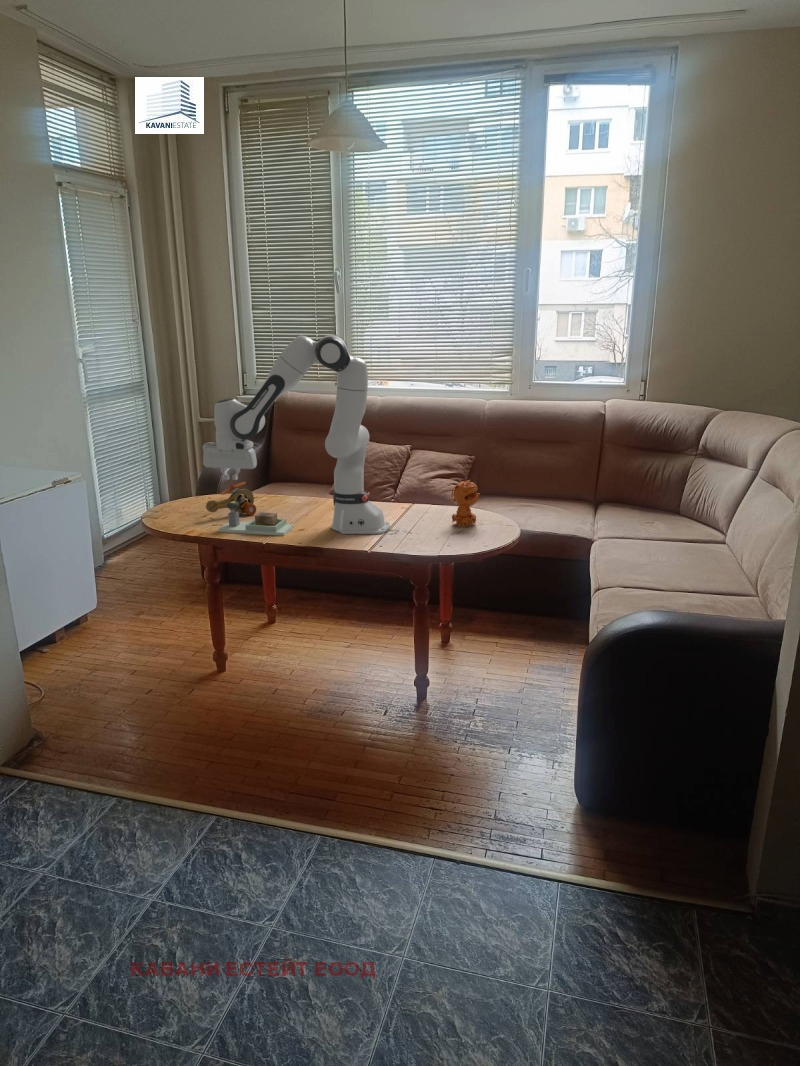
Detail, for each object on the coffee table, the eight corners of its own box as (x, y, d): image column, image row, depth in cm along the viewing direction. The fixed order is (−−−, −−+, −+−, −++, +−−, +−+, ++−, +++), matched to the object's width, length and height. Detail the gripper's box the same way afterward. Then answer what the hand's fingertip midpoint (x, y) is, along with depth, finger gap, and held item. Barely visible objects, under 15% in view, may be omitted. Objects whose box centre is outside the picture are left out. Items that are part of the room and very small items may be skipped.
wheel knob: (241, 514, 274) (240, 500, 272) (236, 517, 270) (235, 503, 268) (230, 514, 275) (229, 500, 273) (225, 517, 271) (224, 503, 269)
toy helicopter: (259, 514, 294) (257, 481, 290) (213, 523, 280) (210, 489, 276) (248, 510, 299) (246, 478, 295) (203, 519, 286) (200, 486, 282)
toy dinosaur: (479, 529, 272) (481, 482, 267) (450, 528, 273) (451, 482, 268) (478, 521, 283) (479, 476, 278) (450, 520, 284) (451, 476, 278)
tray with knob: (294, 527, 275) (293, 511, 273) (284, 535, 264) (283, 519, 263) (230, 523, 280) (229, 508, 278) (218, 531, 269) (217, 516, 268)
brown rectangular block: (277, 525, 273) (277, 513, 271) (273, 529, 268) (272, 516, 267) (260, 524, 274) (259, 512, 273) (255, 528, 270) (254, 515, 268)
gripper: (198, 443, 263) (201, 480, 267) (250, 445, 259) (252, 482, 263) (206, 440, 269) (209, 476, 273) (257, 442, 265) (259, 478, 269)
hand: (231, 479), depth 268 cm, fingers closed
